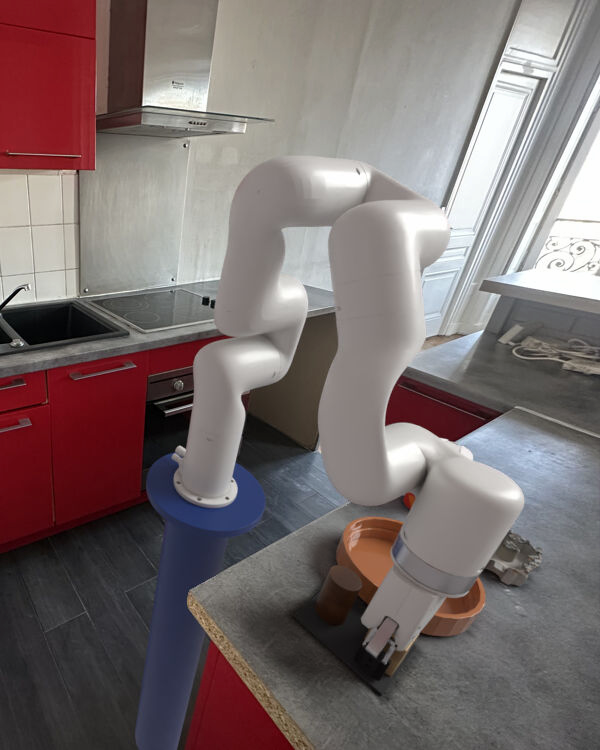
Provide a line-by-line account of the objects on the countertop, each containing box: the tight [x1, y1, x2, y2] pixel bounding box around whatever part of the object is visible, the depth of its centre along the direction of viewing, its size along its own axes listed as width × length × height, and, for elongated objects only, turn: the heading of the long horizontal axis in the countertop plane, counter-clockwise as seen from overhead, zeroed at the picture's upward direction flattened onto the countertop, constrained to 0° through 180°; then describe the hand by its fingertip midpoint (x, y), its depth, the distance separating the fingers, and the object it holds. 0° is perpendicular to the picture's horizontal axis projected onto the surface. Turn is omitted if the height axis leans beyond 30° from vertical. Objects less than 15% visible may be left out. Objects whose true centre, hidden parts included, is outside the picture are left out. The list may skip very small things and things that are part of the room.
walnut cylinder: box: [315, 564, 362, 626], centre depth 58 cm, size 4×4×8 cm
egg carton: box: [483, 529, 544, 587], centre depth 69 cm, size 11×8×4 cm
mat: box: [292, 589, 417, 697], centre depth 57 cm, size 12×10×1 cm
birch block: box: [364, 624, 420, 677], centre depth 53 cm, size 4×4×6 cm
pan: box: [335, 516, 487, 637], centre depth 64 cm, size 18×18×4 cm
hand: (380, 651), depth 55 cm, fingers open, 7 cm apart
